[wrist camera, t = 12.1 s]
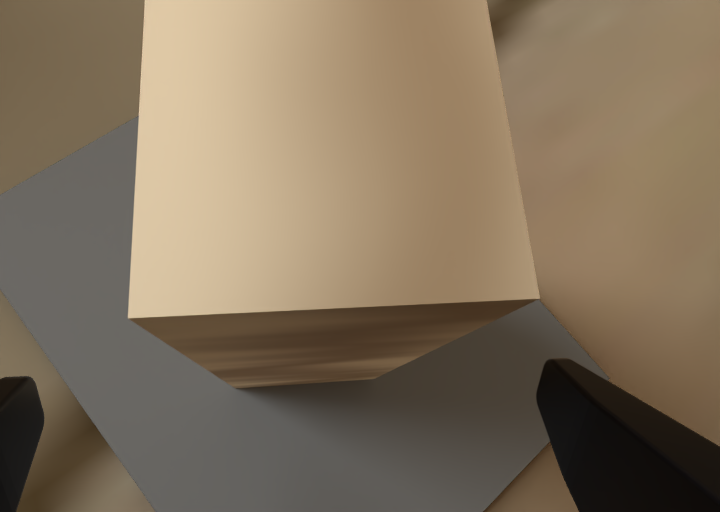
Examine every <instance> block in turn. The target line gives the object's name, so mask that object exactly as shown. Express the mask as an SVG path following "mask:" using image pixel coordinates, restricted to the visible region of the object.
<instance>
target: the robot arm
mask: <svg viewBox="0 0 720 512" xmlns="http://www.w3.org/2000/svg"><path fill="white" fill-rule="evenodd" d="M536 401H537V406H538V408H539V411H540V414H541V417H542V420H543V423H544V425H545V428H546V431H547V434H548V437H549V439H550V442H551V445H552V448H553V451H554V453H555V456H556V459H557V462H558V465H559V467H560V470H561V472H562V475H563V478H564V480H565V482H566V484H567V487H568V489H569V491H570V493H571V495H572V497H573V499H574V501H575V504H576V506H577V508H578V510H579V512H720V446H718V445H716V444H715V443H713V442H711V441H709V440H708V439H706V438H704V437H703V436H701V435H699V434H697V433H696V432H694V431H692V430H691V429H689V428H687V427H686V426H684V425H682V424H680V423H679V422H677V421H675V420H674V419H672V418H670V417H668V416H667V415H665V414H663V413H662V412H660V411H658V410H657V409H655V408H653V407H651V406H650V405H648V404H646V403H645V402H643V401H641V400H639V399H638V398H636V397H634V396H633V395H631V394H629V393H628V392H626V391H624V390H622V389H621V388H619V387H617V386H616V385H614V384H612V383H610V382H609V381H607V380H605V379H604V378H602V377H600V376H599V375H597V374H595V373H593V372H592V371H590V370H588V369H587V368H585V367H583V366H582V365H580V364H578V363H576V362H575V361H573V360H571V359H569V358H551V359H548V360H547V361H546V362H545V363H544V366H543V370H542V373H541V377H540V380H539V384H538V387H537V391H536ZM43 426H44V412H43V408H42V405H41V401H40V398H39V394H38V390H37V387H36V384H35V381H34V380H33V379H32V378H31V377H28V376H20V377H4V378H2V379H0V512H16V510H17V507H18V504H19V501H20V498H21V495H22V492H23V489H24V486H25V483H26V480H27V477H28V473H29V470H30V467H31V464H32V461H33V458H34V455H35V452H36V449H37V445H38V442H39V439H40V436H41V433H42V430H43Z"/></svg>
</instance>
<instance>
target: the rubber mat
mask: <svg viewBox="0 0 720 512" xmlns="http://www.w3.org/2000/svg"><path fill="white" fill-rule="evenodd" d="M138 122H139V116H137V117H135V118H134V119H132V120H130V121H128V122H127V123H125V124H123V125H121V126H120V127H118V128H116V129H114V130H113V131H111V132H109V133H107V134H106V135H104V136H102V137H100V138H99V139H97V140H95V141H93V142H92V143H90V144H88V145H86V146H85V147H83V148H81V149H79V150H78V151H76V152H74V153H72V154H71V155H69V156H67V157H65V158H64V159H62V160H60V161H58V162H57V163H55V164H53V165H51V166H50V167H48V168H46V169H44V170H43V171H41V172H39V173H37V174H36V175H34V176H32V177H30V178H29V179H27V180H25V181H23V182H22V183H20V184H18V185H16V186H15V187H13V188H11V189H9V190H8V191H6V192H4V193H2V194H1V195H0V290H1V291H2V293H3V294H4V296H5V297H6V298H7V300H8V301H9V303H10V304H11V306H12V307H13V308H14V310H15V311H16V313H17V314H18V316H19V317H20V318H21V320H22V321H23V323H24V324H25V326H26V327H27V328H28V330H29V331H30V333H31V334H32V336H33V337H34V338H35V340H36V341H37V343H38V344H39V346H40V347H41V348H42V350H43V351H44V353H45V354H46V356H47V357H48V358H49V360H50V361H51V363H52V364H53V366H54V367H55V368H56V370H57V371H58V373H59V374H60V376H61V377H62V378H63V380H64V381H65V383H66V384H67V386H68V387H69V388H70V390H71V391H72V393H73V394H74V396H75V397H76V398H77V400H78V401H79V403H80V404H81V406H82V407H83V408H84V410H85V411H86V413H87V414H88V416H89V417H90V418H91V420H92V421H93V423H94V424H95V426H96V427H97V428H98V430H99V431H100V433H101V434H102V436H103V437H104V438H105V440H106V441H107V443H108V444H109V446H110V447H111V448H112V450H113V451H114V453H115V454H116V456H117V457H118V458H119V460H120V461H121V463H122V464H123V466H124V467H125V468H126V470H127V471H128V473H129V474H130V476H131V477H132V478H133V480H134V481H135V483H136V484H137V486H138V487H139V488H140V490H141V491H142V493H143V494H144V496H145V497H146V498H147V500H148V501H149V503H150V504H151V506H152V507H153V508H154V510H155V511H156V512H483V511H484V510H485V509H486V508H487V507H488V506H489V505H490V504H491V503H492V502H493V501H494V500H495V499H496V497H497V496H498V495H499V494H500V493H501V492H502V491H503V490H504V489H505V488H506V487H507V486H508V485H509V484H510V483H511V482H512V481H513V480H514V479H515V477H516V476H517V475H518V474H519V473H520V472H521V471H522V470H523V469H524V468H525V467H526V466H527V465H528V464H529V463H530V462H531V461H532V460H533V459H534V457H535V456H536V455H537V454H538V453H539V452H540V451H541V450H542V449H543V448H544V447H545V446H546V445H547V444H548V443H549V442H550V439H549V437H548V434H547V431H546V428H545V425H544V423H543V420H542V417H541V414H540V411H539V408H538V406H537V401H536V391H537V387H538V384H539V380H540V377H541V373H542V370H543V366H544V363H545V362H546V361H547V360H548V359H551V358H569V359H571V360H573V361H575V362H576V363H578V364H580V365H582V366H583V367H585V368H587V369H588V370H590V371H592V372H593V373H595V374H597V375H599V376H600V377H602V378H604V379H605V380H607V381H608V380H609V379H610V378H609V377H608V376H607V375H606V374H605V373H604V372H603V371H602V369H601V368H600V367H599V366H598V365H597V364H596V363H595V362H594V361H593V359H592V358H591V357H590V356H589V355H588V354H587V353H586V352H585V351H584V349H583V348H582V347H581V346H580V345H579V344H578V343H577V342H576V340H575V339H574V338H573V337H572V336H571V335H570V334H569V333H568V332H567V330H566V329H565V328H564V327H563V326H562V325H561V324H560V323H559V322H558V320H557V319H556V318H555V317H554V316H553V315H552V314H551V313H550V312H549V310H548V309H547V308H546V307H545V306H544V305H543V304H542V303H541V301H540V300H539V299H538V300H536V301H534V302H532V303H530V304H528V305H526V306H524V307H522V308H520V309H518V310H516V311H513V312H511V313H509V314H507V315H505V316H503V317H501V318H499V319H497V320H495V321H493V322H491V323H489V324H487V325H485V326H482V327H480V328H478V329H476V330H474V331H472V332H470V333H468V334H466V335H464V336H462V337H460V338H458V339H456V340H454V341H451V342H449V343H447V344H445V345H443V346H441V347H439V348H437V349H435V350H433V351H431V352H429V353H427V354H425V355H423V356H420V357H418V358H416V359H414V360H412V361H410V362H408V363H406V364H404V365H402V366H400V367H398V368H396V369H394V370H392V371H389V372H387V373H385V374H383V375H381V376H379V377H377V378H375V379H366V380H352V381H337V382H323V383H308V384H294V385H279V386H265V387H250V388H236V389H235V388H234V387H232V386H231V385H229V384H228V383H226V382H225V381H223V380H221V379H220V378H218V377H217V376H215V375H214V374H212V373H211V372H209V371H208V370H206V369H205V368H203V367H202V366H200V365H199V364H197V363H195V362H194V361H192V360H191V359H189V358H188V357H186V356H185V355H183V354H182V353H180V352H179V351H177V350H176V349H174V348H172V347H171V346H169V345H168V344H166V343H165V342H163V341H162V340H160V339H159V338H157V337H156V336H154V335H153V334H151V333H150V332H148V331H146V330H145V329H143V328H142V327H140V326H139V325H137V324H136V323H134V322H133V321H131V320H130V319H128V306H129V287H130V269H131V250H132V232H133V214H134V195H135V177H136V159H137V140H138Z"/></svg>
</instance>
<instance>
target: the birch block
mask: <svg viewBox="0 0 720 512" xmlns="http://www.w3.org/2000/svg"><path fill="white" fill-rule="evenodd" d="M538 299H540V295H539V290H538V284H537V279H536V273H535V267H534V262H533V256H532V251H531V245H530V240H529V234H528V229H527V223H526V218H525V212H524V206H523V201H522V195H521V190H520V184H519V179H518V173H517V168H516V162H515V157H514V151H513V145H512V140H511V134H510V129H509V123H508V118H507V112H506V107H505V101H504V95H503V90H502V84H501V79H500V73H499V68H498V62H497V57H496V51H495V46H494V40H493V34H492V29H491V23H490V18H489V12H488V7H487V1H486V0H145V12H144V30H143V48H142V67H141V85H140V104H139V122H138V140H137V159H136V177H135V195H134V214H133V232H132V250H131V269H130V287H129V306H128V319H130V320H131V321H133V322H134V323H136V324H137V325H139V326H140V327H142V328H143V329H145V330H146V331H148V332H150V333H151V334H153V335H154V336H156V337H157V338H159V339H160V340H162V341H163V342H165V343H166V344H168V345H169V346H171V347H172V348H174V349H176V350H177V351H179V352H180V353H182V354H183V355H185V356H186V357H188V358H189V359H191V360H192V361H194V362H195V363H197V364H199V365H200V366H202V367H203V368H205V369H206V370H208V371H209V372H211V373H212V374H214V375H215V376H217V377H218V378H220V379H221V380H223V381H225V382H226V383H228V384H229V385H231V386H232V387H234V388H235V389H236V388H250V387H265V386H279V385H294V384H308V383H323V382H337V381H352V380H366V379H375V378H377V377H379V376H381V375H383V374H385V373H387V372H389V371H392V370H394V369H396V368H398V367H400V366H402V365H404V364H406V363H408V362H410V361H412V360H414V359H416V358H418V357H420V356H423V355H425V354H427V353H429V352H431V351H433V350H435V349H437V348H439V347H441V346H443V345H445V344H447V343H449V342H451V341H454V340H456V339H458V338H460V337H462V336H464V335H466V334H468V333H470V332H472V331H474V330H476V329H478V328H480V327H482V326H485V325H487V324H489V323H491V322H493V321H495V320H497V319H499V318H501V317H503V316H505V315H507V314H509V313H511V312H513V311H516V310H518V309H520V308H522V307H524V306H526V305H528V304H530V303H532V302H534V301H536V300H538Z"/></svg>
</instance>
